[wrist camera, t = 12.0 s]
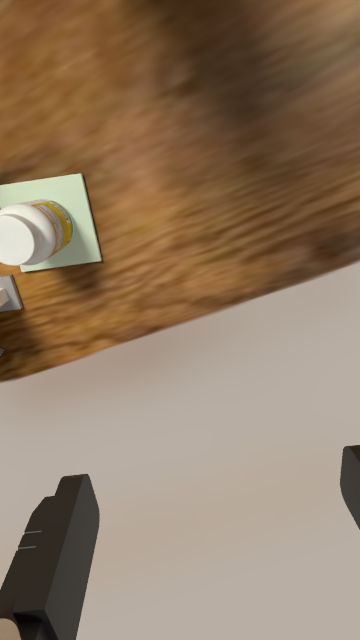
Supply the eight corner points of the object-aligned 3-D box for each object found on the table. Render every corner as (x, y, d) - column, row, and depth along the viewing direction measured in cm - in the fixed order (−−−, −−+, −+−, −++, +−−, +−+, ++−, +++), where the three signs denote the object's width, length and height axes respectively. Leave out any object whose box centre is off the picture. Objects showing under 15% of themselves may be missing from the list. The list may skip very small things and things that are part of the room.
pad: (-4, 186, 35) (-7, 186, 34) (82, 173, 34) (80, 173, 34) (24, 270, 38) (21, 272, 38) (101, 259, 38) (101, 260, 37)
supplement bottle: (76, 204, 35) (45, 213, 26) (73, 254, 37) (43, 279, 28) (23, 194, 34) (-28, 200, 26) (23, 245, 36) (-24, 268, 28)
